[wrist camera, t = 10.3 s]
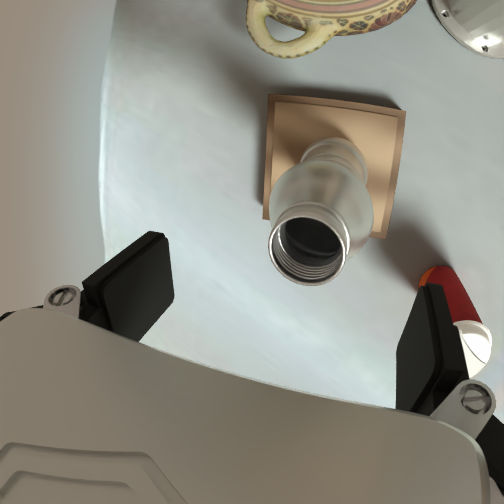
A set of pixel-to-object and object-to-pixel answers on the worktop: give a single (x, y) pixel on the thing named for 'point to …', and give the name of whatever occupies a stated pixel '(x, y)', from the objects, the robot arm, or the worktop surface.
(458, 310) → the paper cup
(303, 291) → the worktop surface
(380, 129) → the plinth
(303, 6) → the ceramic bowl
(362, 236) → the plastic bottle
